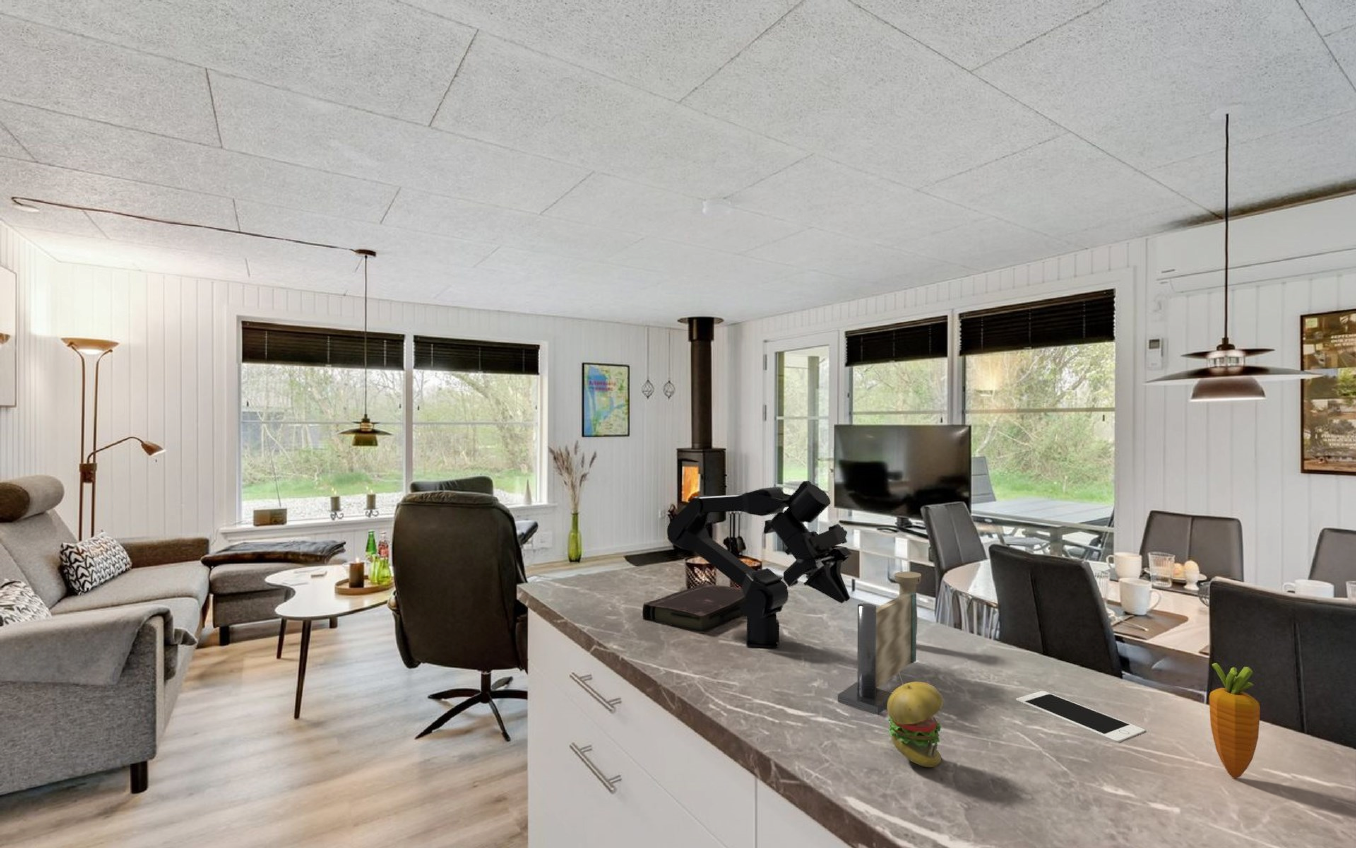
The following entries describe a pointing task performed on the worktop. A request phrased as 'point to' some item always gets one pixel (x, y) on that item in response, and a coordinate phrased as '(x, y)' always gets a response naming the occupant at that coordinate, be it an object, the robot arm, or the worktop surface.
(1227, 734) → the carrot
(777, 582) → the robot arm
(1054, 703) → the cell phone
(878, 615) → the gate
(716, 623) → the diary
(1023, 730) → the worktop surface
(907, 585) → the handle
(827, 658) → the worktop surface
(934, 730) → the hamburger
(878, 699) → the hinge post
